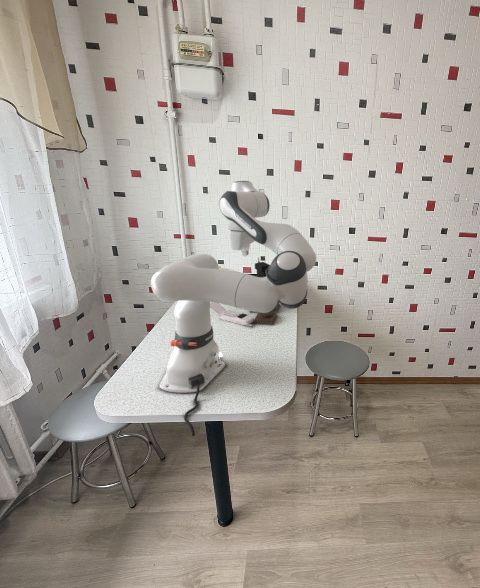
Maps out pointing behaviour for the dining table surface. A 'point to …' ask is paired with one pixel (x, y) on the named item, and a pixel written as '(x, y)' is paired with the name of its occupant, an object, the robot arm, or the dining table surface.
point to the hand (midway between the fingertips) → (245, 255)
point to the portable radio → (261, 268)
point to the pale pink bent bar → (231, 315)
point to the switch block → (265, 318)
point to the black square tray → (273, 309)
